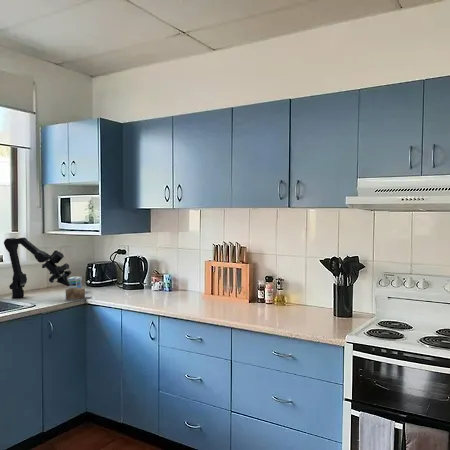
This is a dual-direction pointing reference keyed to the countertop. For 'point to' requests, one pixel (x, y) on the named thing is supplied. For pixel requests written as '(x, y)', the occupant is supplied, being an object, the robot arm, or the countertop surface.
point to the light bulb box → (75, 282)
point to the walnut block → (75, 293)
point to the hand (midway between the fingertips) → (69, 285)
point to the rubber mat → (78, 299)
